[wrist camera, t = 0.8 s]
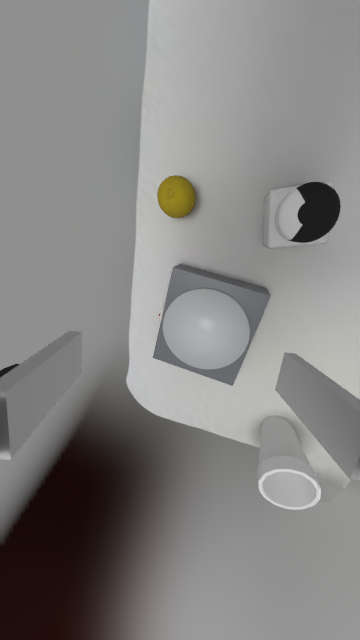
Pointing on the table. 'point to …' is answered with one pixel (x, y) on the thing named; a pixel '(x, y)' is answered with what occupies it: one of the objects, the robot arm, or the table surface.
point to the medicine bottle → (300, 214)
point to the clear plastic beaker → (285, 467)
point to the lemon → (176, 196)
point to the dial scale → (208, 322)
